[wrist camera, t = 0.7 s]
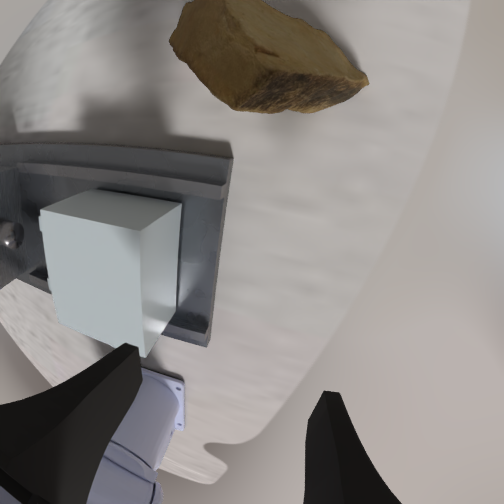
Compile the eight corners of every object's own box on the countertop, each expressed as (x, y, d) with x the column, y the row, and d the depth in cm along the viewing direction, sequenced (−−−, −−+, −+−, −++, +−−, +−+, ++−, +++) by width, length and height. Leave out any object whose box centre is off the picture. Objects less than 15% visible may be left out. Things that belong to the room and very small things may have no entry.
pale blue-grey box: (175, 331, 21) (147, 379, 17) (82, 300, 22) (46, 334, 17) (181, 203, 17) (140, 231, 13) (72, 185, 18) (21, 205, 13)
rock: (123, 45, 13) (194, 178, 14) (131, -69, 5) (253, 84, 6) (267, 13, 16) (340, 117, 18) (322, -64, 8) (434, 58, 10)
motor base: (210, 339, 23) (186, 394, 17) (8, 267, 25) (-27, 292, 19) (233, 158, 17) (202, 170, 12) (-4, 144, 19) (-48, 155, 14)
